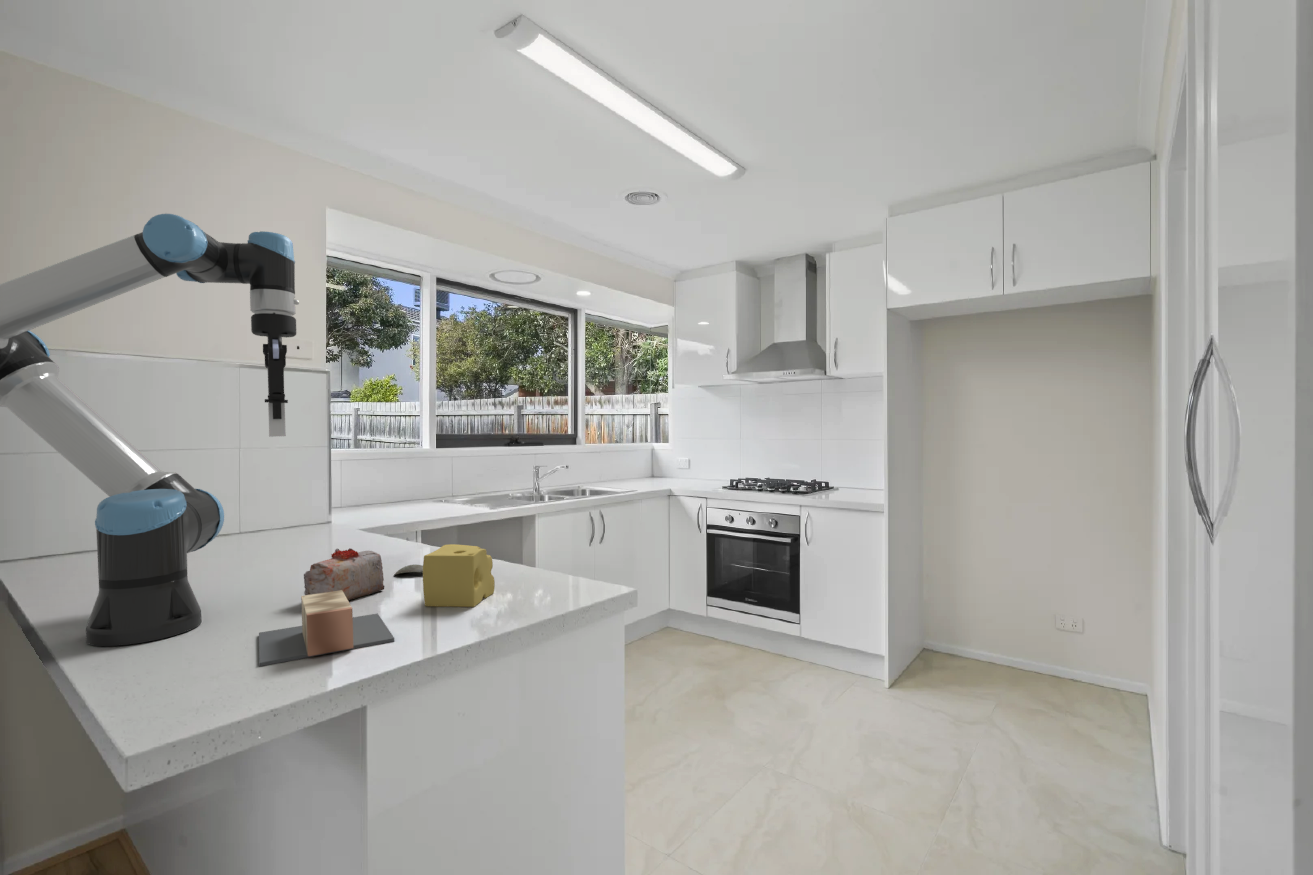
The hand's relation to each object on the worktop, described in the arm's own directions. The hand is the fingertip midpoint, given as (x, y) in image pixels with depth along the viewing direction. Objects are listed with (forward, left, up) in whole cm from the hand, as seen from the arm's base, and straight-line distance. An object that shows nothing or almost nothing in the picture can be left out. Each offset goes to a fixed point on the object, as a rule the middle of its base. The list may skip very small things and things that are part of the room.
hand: (277, 436), depth 123 cm
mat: (+5, -30, -32) cm, 44 cm away
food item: (+11, -5, -33) cm, 35 cm away
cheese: (+29, -20, -33) cm, 48 cm away
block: (+5, -39, -29) cm, 49 cm away
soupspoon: (+29, +2, -33) cm, 44 cm away
